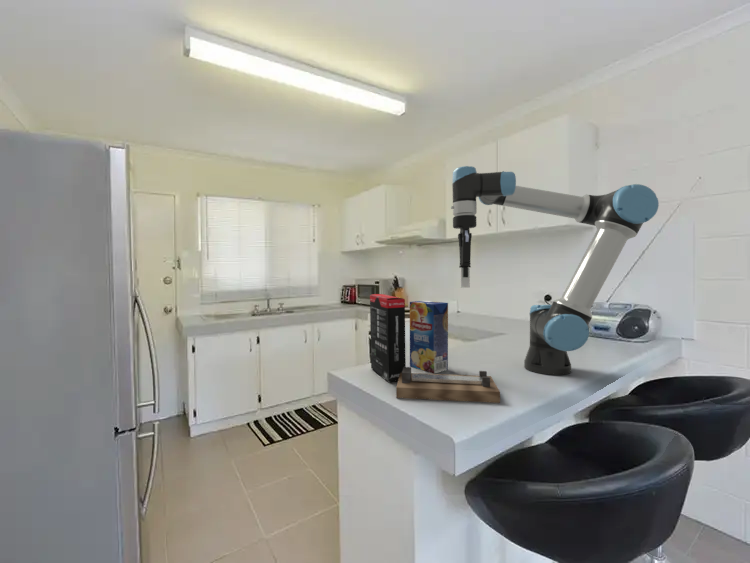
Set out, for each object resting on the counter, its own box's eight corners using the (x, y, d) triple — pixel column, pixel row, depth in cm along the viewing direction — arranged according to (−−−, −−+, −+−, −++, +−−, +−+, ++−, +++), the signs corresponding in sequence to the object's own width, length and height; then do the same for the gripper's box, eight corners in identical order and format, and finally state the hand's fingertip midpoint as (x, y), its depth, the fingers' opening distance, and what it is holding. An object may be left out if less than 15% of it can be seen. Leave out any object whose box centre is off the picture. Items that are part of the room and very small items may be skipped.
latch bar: (485, 380, 104) (485, 376, 104) (487, 385, 101) (487, 381, 100) (412, 376, 108) (412, 373, 108) (411, 381, 104) (411, 377, 104)
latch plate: (490, 385, 109) (490, 366, 109) (500, 402, 95) (500, 380, 95) (400, 381, 113) (400, 363, 113) (396, 397, 99) (396, 376, 99)
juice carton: (448, 369, 126) (448, 302, 125) (433, 373, 122) (433, 304, 121) (423, 362, 136) (423, 300, 135) (409, 366, 131) (409, 301, 130)
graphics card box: (407, 381, 114) (407, 297, 113) (387, 383, 112) (387, 297, 111) (386, 367, 130) (386, 293, 129) (369, 369, 128) (368, 294, 127)
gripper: (451, 218, 123) (451, 286, 124) (454, 213, 110) (455, 288, 111) (473, 218, 122) (473, 286, 123) (479, 212, 109) (480, 288, 110)
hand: (465, 287), depth 117 cm, fingers closed
